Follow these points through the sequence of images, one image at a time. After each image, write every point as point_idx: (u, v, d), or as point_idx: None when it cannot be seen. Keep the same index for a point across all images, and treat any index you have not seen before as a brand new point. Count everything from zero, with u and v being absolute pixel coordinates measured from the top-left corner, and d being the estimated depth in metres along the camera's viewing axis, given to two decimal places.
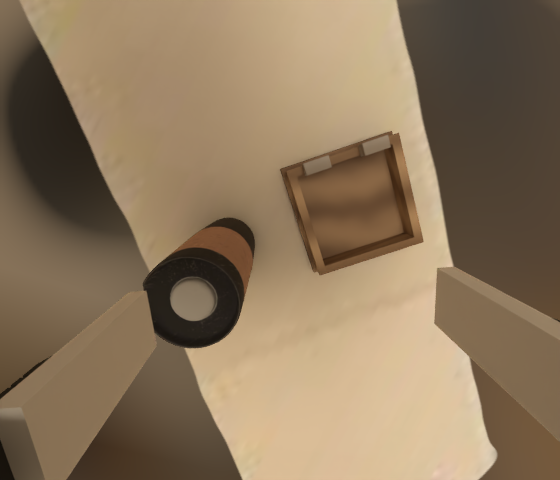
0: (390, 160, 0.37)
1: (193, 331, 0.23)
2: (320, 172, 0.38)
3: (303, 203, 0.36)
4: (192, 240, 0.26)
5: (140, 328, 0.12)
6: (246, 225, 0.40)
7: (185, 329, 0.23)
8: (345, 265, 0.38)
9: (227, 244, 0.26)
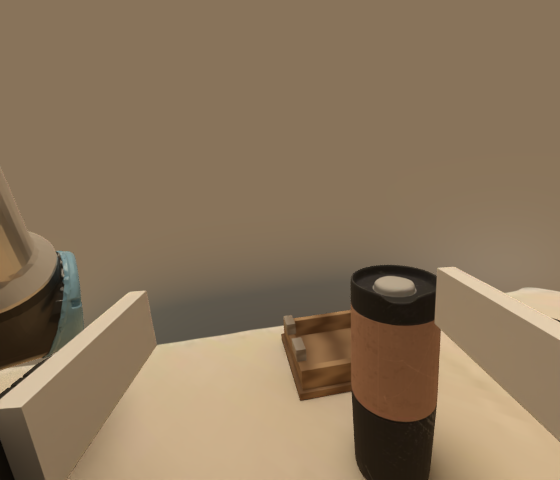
0: (301, 329, 0.52)
1: (428, 288, 0.25)
2: None
3: (331, 362, 0.40)
4: (353, 339, 0.26)
5: (140, 328, 0.12)
6: None
7: (428, 291, 0.24)
8: None
9: None
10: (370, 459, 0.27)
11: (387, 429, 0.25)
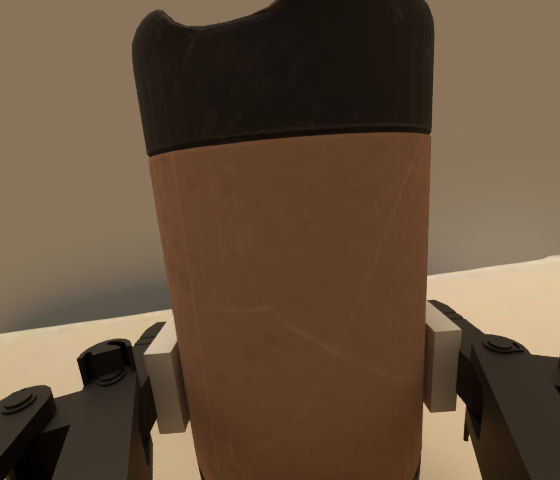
0: None
1: None
2: None
3: None
4: None
5: None
6: None
7: None
8: None
9: None
10: None
11: None
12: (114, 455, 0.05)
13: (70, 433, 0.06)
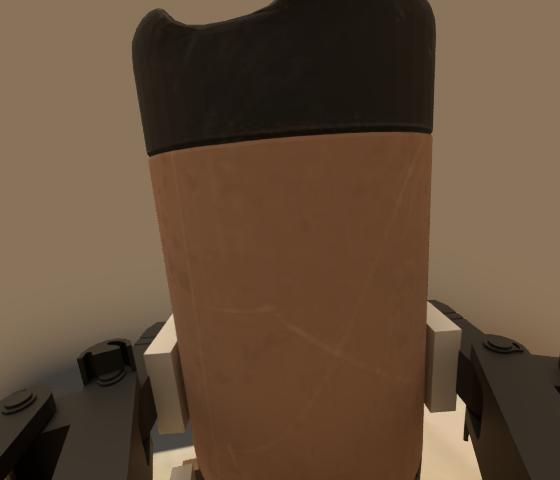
0: None
1: None
2: None
3: None
4: None
5: None
6: None
7: None
8: None
9: None
10: None
11: None
12: (114, 455, 0.05)
13: (70, 433, 0.06)
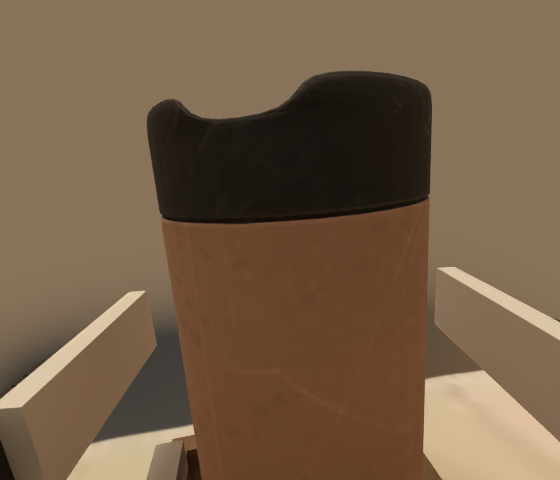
0: None
1: None
2: None
3: None
4: None
5: (140, 328, 0.12)
6: None
7: None
8: None
9: None
10: None
11: None
12: None
13: None
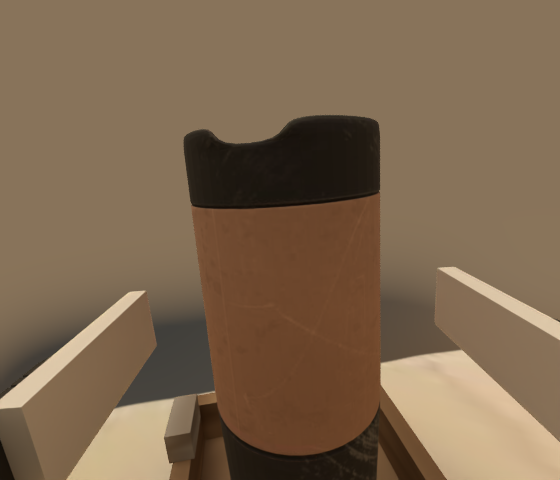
0: None
1: None
2: None
3: None
4: None
5: (140, 328, 0.12)
6: None
7: None
8: None
9: None
10: None
11: (260, 471, 0.11)
12: None
13: None
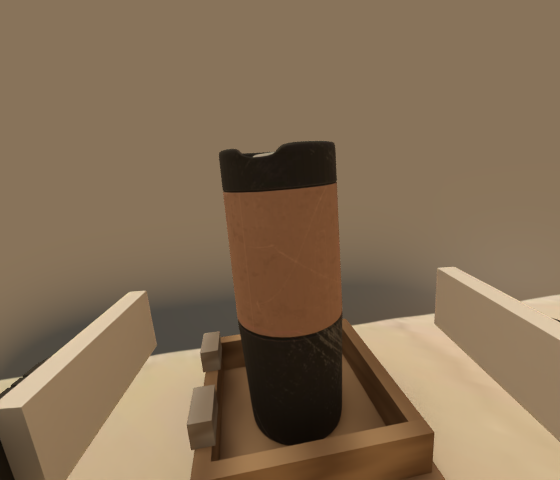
0: (242, 355, 0.29)
1: None
2: (228, 449, 0.20)
3: (270, 453, 0.17)
4: None
5: (140, 328, 0.12)
6: None
7: None
8: (397, 389, 0.21)
9: None
10: (256, 398, 0.21)
11: (266, 351, 0.18)
12: None
13: None
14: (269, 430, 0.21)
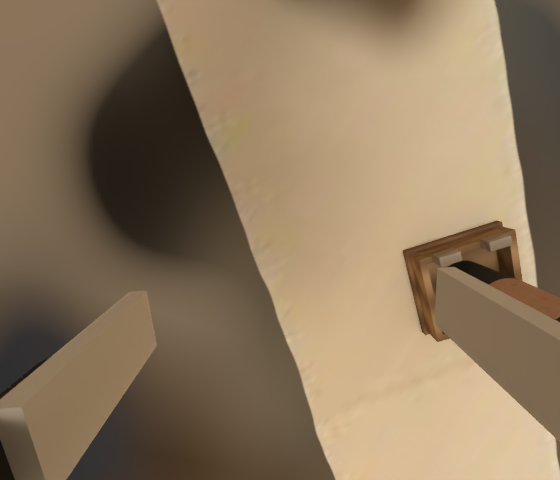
0: (501, 247, 0.44)
1: None
2: None
3: (430, 285, 0.43)
4: (542, 299, 0.31)
5: (140, 328, 0.12)
6: None
7: None
8: None
9: None
10: None
11: None
12: None
13: None
14: None
